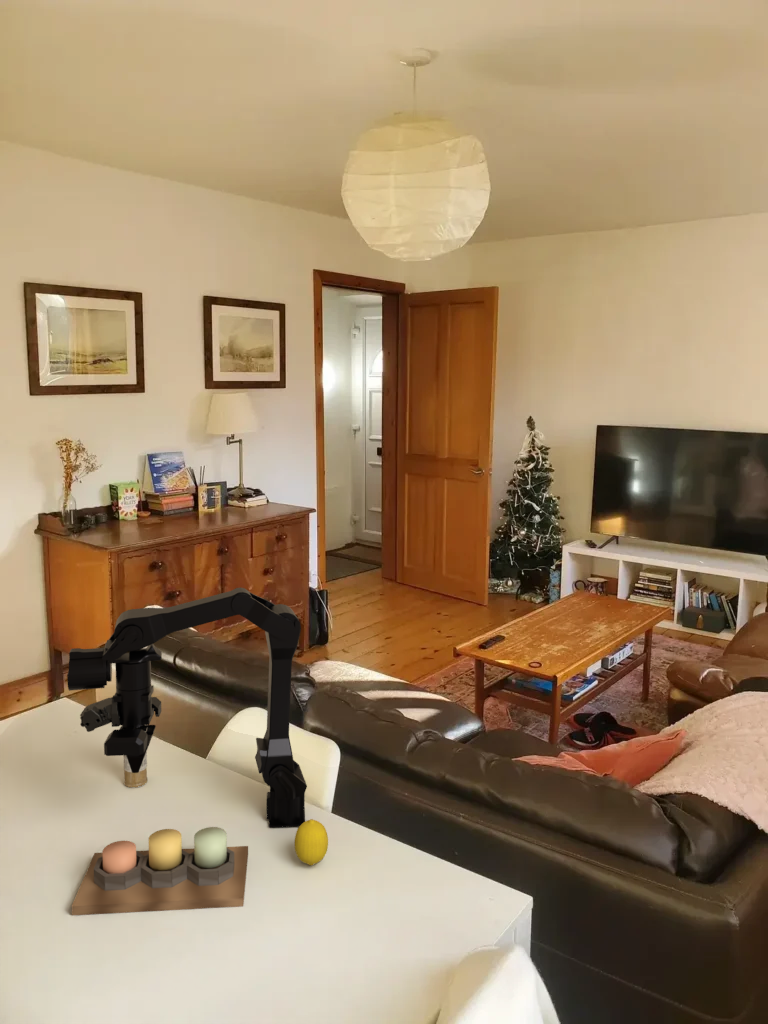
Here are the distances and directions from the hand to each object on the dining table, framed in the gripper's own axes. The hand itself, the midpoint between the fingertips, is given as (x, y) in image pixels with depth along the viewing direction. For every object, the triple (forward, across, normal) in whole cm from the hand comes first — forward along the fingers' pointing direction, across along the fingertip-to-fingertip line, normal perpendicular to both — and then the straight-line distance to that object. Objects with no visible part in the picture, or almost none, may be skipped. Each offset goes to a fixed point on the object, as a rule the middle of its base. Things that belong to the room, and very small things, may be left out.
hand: (135, 771), depth 137 cm
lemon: (+12, +11, +30) cm, 34 cm away
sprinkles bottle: (+12, -20, -4) cm, 24 cm away
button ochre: (+8, +14, +7) cm, 18 cm away
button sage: (+8, +14, +14) cm, 21 cm away
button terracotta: (+10, +14, 0) cm, 17 cm away
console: (+12, +14, +7) cm, 20 cm away
